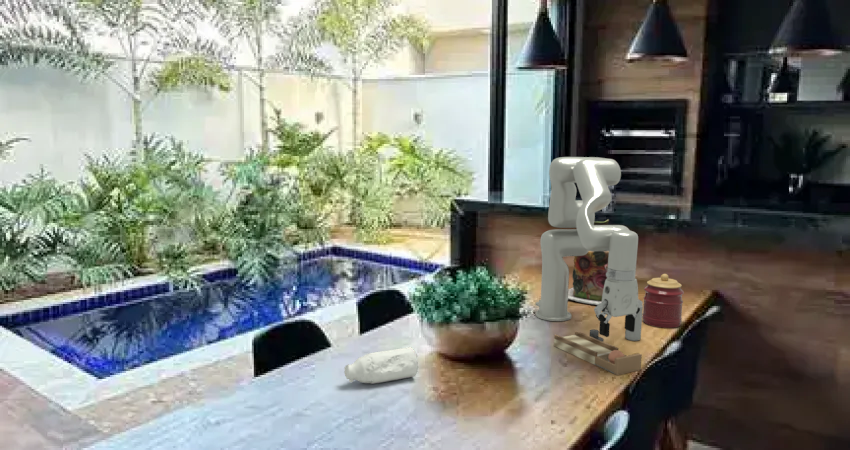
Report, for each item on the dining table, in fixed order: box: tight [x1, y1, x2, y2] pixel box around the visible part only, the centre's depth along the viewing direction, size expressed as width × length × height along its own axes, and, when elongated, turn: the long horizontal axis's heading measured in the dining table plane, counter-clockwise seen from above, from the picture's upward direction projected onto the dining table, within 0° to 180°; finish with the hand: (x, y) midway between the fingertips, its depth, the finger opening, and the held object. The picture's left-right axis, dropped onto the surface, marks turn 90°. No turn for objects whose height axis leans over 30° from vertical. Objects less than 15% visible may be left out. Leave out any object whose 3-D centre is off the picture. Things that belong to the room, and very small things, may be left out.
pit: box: [594, 352, 643, 376], centre depth 183 cm, size 9×9×4 cm
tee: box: [589, 328, 604, 342], centre depth 207 cm, size 6×6×3 cm
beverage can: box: [624, 304, 644, 342], centre depth 208 cm, size 5×5×12 cm
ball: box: [608, 349, 625, 364], centre depth 184 cm, size 4×4×4 cm
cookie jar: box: [568, 219, 610, 306], centre depth 257 cm, size 25×25×32 cm
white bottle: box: [343, 346, 419, 385], centre depth 171 cm, size 8×19×8 cm, turn 116°
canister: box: [642, 273, 685, 329], centre depth 225 cm, size 13×13×18 cm
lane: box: [553, 330, 619, 366], centre depth 195 cm, size 18×9×4 cm, turn 28°
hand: (616, 332), depth 183 cm, fingers open, 9 cm apart
